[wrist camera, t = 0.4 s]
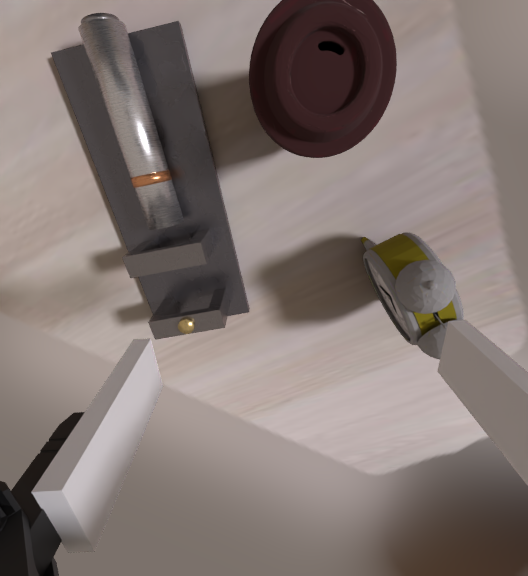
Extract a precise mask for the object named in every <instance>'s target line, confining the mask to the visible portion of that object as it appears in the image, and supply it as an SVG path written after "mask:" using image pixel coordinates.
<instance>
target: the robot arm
mask: <svg viewBox="0 0 528 576" xmlns="http://www.w3.org/2000/svg"><path fill="white" fill-rule="evenodd" d="M438 373H439V374H440V375H441V376H442V378H443V379H444V380H445V382H446V383H447V384H448V385H449V387H450V388H451V389H452V390H453V392H454V393H455V394H456V395H457V397H458V398H459V399H460V401H461V402H462V403H463V404H464V406H465V407H466V408H467V409H468V411H469V412H470V413H471V414H472V416H473V417H474V418H475V420H476V421H477V422H478V423H479V425H480V426H481V427H482V428H483V430H484V431H485V432H486V433H487V435H488V436H489V437H490V438H491V440H492V441H493V442H494V444H495V445H496V446H497V447H498V449H499V450H500V451H501V452H502V454H503V455H504V456H505V457H506V459H507V460H508V461H509V462H510V464H511V465H512V466H513V468H514V469H515V470H516V471H517V473H518V474H519V475H520V476H521V478H522V479H523V480H524V481H525V483H526V484H527V485H528V372H527V371H526V370H525V369H524V368H522V367H521V366H520V365H519V364H518V363H517V362H515V361H514V360H513V359H512V358H511V357H509V356H508V355H507V354H506V353H505V352H503V351H502V350H501V349H500V348H499V347H497V346H496V345H495V344H494V343H493V342H492V341H490V340H489V339H488V338H487V337H486V336H484V335H483V334H482V333H481V332H480V331H478V330H477V329H476V328H475V327H474V326H472V325H471V324H470V323H469V322H468V321H466V320H461V321H448V325H447V330H446V335H445V339H444V344H443V348H442V353H441V358H440V362H439V367H438ZM162 388H163V384H162V380H161V376H160V372H159V368H158V365H157V361H156V357H155V353H154V349H153V345H152V342H151V339H134V340H133V341H132V343H131V344H130V346H129V347H128V349H127V350H126V352H125V353H124V355H123V356H122V358H121V359H120V361H119V362H118V364H117V365H116V367H115V368H114V370H113V371H112V373H111V374H110V376H109V377H108V379H107V380H106V381H105V383H104V384H103V386H102V388H101V389H100V390H99V392H98V394H97V395H96V396H95V398H94V399H93V401H92V402H91V404H90V405H89V407H88V408H87V410H86V411H85V412H81V413H73V414H72V415H71V416H70V417H68V418H67V419H66V420H65V421H63V422H62V423H61V424H60V425H59V426H58V428H57V429H56V430H55V432H54V433H53V434H52V436H51V437H50V438H49V442H46V444H45V445H44V447H43V448H42V449H41V452H40V454H38V455H37V456H36V458H35V459H34V460H33V462H32V463H31V464H30V466H29V467H28V469H27V470H26V471H25V473H24V474H23V475H22V477H21V478H20V479H19V481H18V482H17V483H16V485H15V486H14V488H13V489H12V491H10V489H9V488H8V486H7V485H6V483H5V482H2V481H0V576H59V574H58V568H57V563H56V561H55V559H54V555H55V552H56V551H57V549H58V547H59V545H60V543H61V542H62V544H63V545H64V547H65V549H66V550H67V552H68V553H72V552H73V553H75V552H95V549H96V547H97V544H98V542H99V540H100V537H101V535H102V532H103V530H104V528H105V525H106V523H107V521H108V518H109V516H110V513H111V511H112V508H113V506H114V504H115V501H116V499H117V496H118V494H119V491H120V489H121V487H122V484H123V482H124V479H125V477H126V475H127V472H128V470H129V467H130V465H131V462H132V460H133V458H134V455H135V453H136V451H137V448H138V445H139V443H140V441H141V439H142V436H143V434H144V431H145V429H146V426H147V424H148V422H149V419H150V417H151V414H152V412H153V410H154V407H155V405H156V402H157V400H158V398H159V395H160V393H161V390H162Z"/></svg>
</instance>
